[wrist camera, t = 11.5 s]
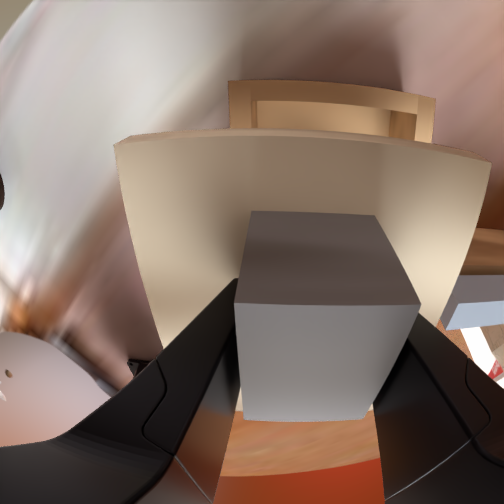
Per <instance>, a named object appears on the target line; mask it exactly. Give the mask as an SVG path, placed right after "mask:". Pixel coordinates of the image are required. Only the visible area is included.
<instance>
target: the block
mask: <svg viewBox="0 0 504 504" xmlns="http://www.w3.org/2000/svg"><path fill="white" fill-rule="evenodd" d="M440 320H441V322H442V324H443V326H444V328H445V330H454V329H464V328H474V327H482V326H490V325H498V324H504V275H459V276H458V278H457V280H456V283H455V285H454V288H453V290H452V292H451V295H450V297H449V299H448V301H447V304H446V306H445V308H444V310H443V312H442V314H441V317H440Z"/></svg>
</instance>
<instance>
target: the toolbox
mask: <svg viewBox="0 0 504 504" xmlns="http://www.w3.org/2000/svg"><path fill="white" fill-rule="evenodd" d="M228 92H229V117H230V129H232V128H279V129H307V130H324V131H338V132H350V133H360V134H369V135H378V136H386V137H393V138H400V139H407V140H414V141H420V142H426V143H431V141H432V133H433V124H434V113H435V101H436V99H434V98H430V97H425V96H421V95H416V94H411V93H406V92H401V91H395V90H389V89H383V88H376V87H369V86H362V85H353V84H344V83H333V82H320V81H301V80H236V81H228Z"/></svg>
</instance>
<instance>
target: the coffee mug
mask: <svg viewBox="0 0 504 504" xmlns="http://www.w3.org/2000/svg"><path fill="white" fill-rule="evenodd" d="M4 195H5V193H4V185H3V181H2V177H1V174H0V210H1V208H2V207H3V204H4Z"/></svg>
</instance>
